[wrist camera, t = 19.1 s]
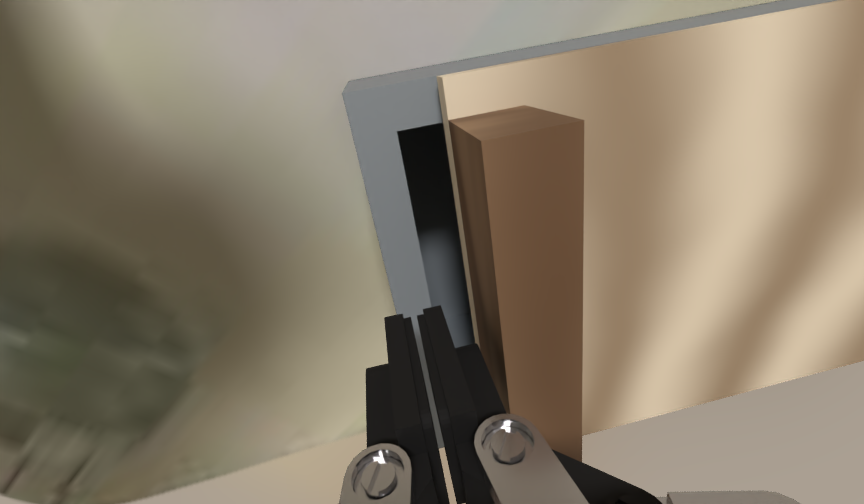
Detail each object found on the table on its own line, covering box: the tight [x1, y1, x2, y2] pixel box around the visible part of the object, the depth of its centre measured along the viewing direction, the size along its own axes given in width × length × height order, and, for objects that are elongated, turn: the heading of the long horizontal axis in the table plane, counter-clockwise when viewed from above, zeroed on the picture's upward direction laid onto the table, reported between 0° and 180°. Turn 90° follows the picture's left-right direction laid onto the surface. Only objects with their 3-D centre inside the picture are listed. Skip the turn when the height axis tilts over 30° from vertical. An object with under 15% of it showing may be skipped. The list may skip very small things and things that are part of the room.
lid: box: [436, 0, 864, 462], centre depth 13 cm, size 22×14×4 cm, turn 99°
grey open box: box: [342, 0, 837, 449], centre depth 18 cm, size 22×14×8 cm, turn 99°
